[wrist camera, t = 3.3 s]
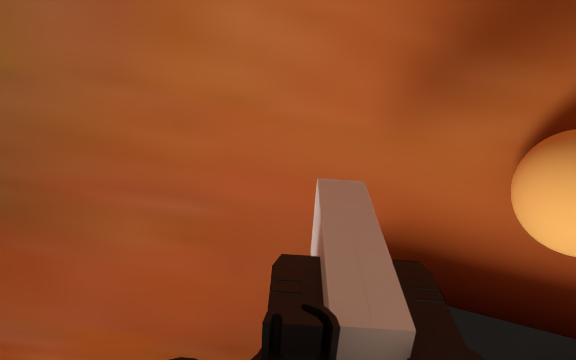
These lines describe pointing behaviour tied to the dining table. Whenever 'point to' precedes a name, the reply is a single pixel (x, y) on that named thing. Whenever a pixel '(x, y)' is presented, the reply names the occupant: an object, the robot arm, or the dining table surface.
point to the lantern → (510, 339)
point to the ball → (548, 192)
